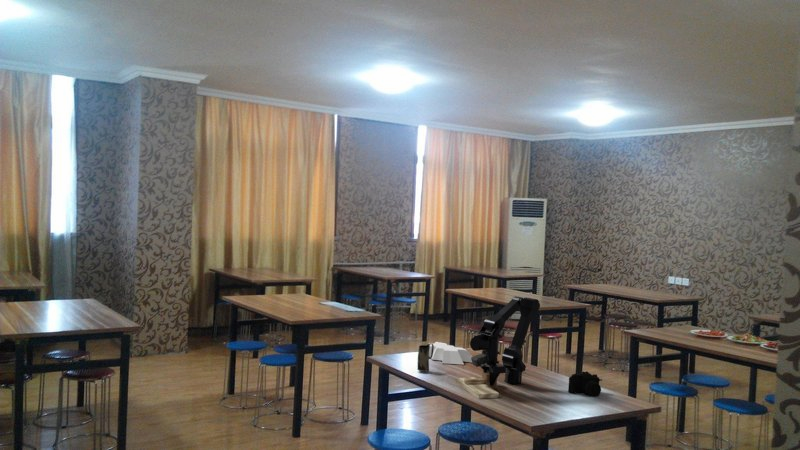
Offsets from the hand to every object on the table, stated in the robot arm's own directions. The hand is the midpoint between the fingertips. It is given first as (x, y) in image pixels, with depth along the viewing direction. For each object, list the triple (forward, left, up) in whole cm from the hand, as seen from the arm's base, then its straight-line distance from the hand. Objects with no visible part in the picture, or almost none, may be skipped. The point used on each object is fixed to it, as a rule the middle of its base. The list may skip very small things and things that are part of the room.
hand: (489, 384), depth 273 cm
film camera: (-38, +16, -2) cm, 41 cm away
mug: (+18, -32, -2) cm, 37 cm away
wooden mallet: (0, 0, -1) cm, 1 cm away
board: (+8, +3, -1) cm, 8 cm away
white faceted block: (-2, -56, -2) cm, 56 cm away
